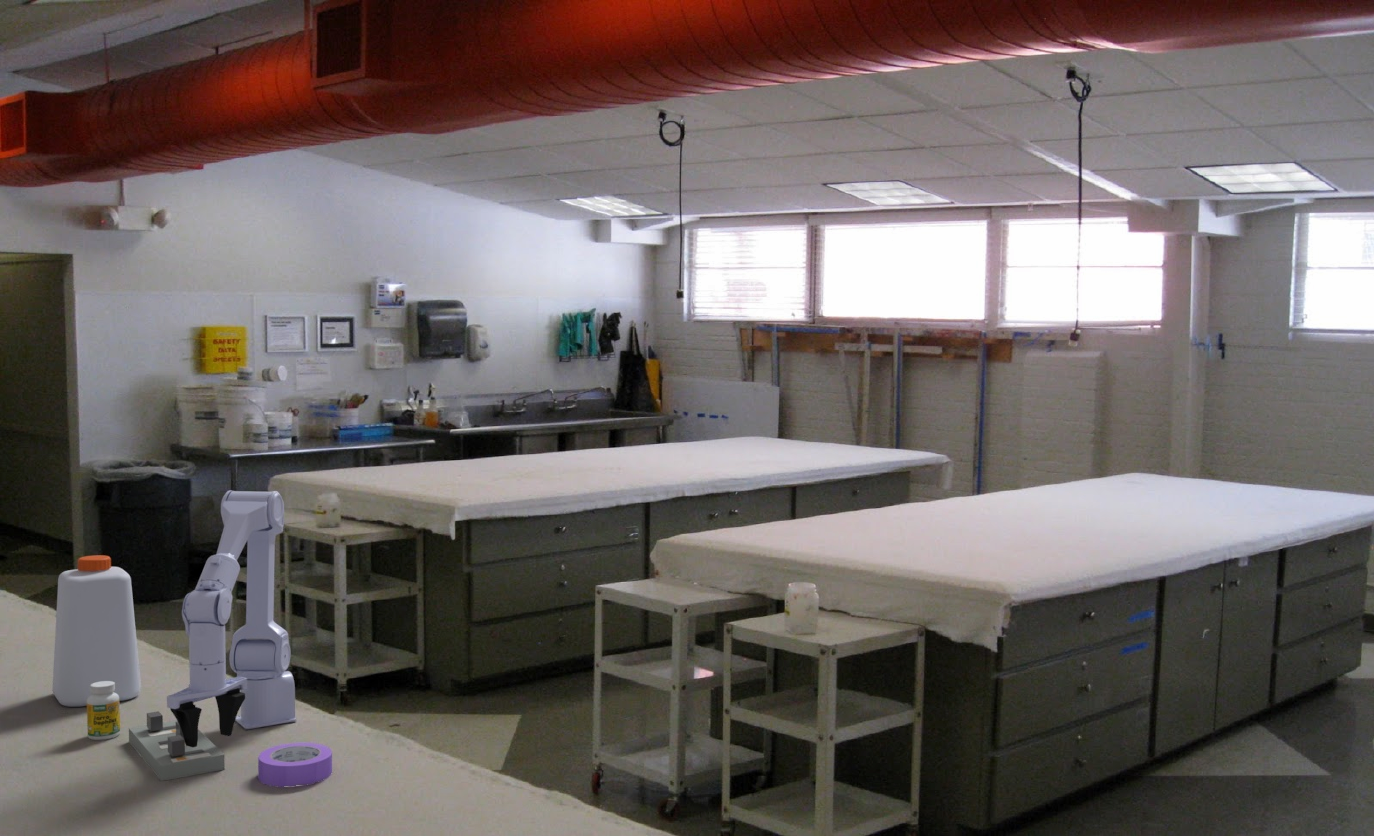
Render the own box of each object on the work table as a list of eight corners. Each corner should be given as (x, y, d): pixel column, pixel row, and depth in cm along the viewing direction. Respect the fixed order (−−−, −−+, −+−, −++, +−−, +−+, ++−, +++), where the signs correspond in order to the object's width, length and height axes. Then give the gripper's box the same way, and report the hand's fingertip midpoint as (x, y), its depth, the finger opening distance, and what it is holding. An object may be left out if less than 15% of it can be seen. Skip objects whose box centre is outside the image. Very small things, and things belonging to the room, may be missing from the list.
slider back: (158, 724, 226) (158, 711, 226) (162, 729, 224) (162, 715, 224) (146, 726, 225) (146, 713, 225) (150, 731, 223) (150, 717, 222)
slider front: (180, 749, 213) (180, 734, 213) (184, 754, 211) (184, 739, 210) (167, 751, 212) (167, 736, 212) (172, 756, 209) (172, 741, 209)
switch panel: (187, 731, 232) (187, 717, 231) (224, 769, 212) (224, 753, 212) (129, 741, 226) (128, 726, 226) (161, 780, 206) (161, 764, 206)
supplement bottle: (117, 729, 233) (116, 678, 232) (122, 737, 228) (121, 684, 228) (85, 734, 230) (84, 682, 229) (90, 742, 225) (88, 689, 225)
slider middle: (187, 733, 221) (187, 719, 221) (192, 738, 219) (192, 724, 219) (175, 735, 220) (175, 721, 220) (180, 740, 218) (179, 725, 218)
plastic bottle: (145, 699, 252) (142, 559, 250) (61, 711, 244) (58, 566, 242) (130, 681, 265) (127, 548, 263) (49, 692, 256) (46, 555, 254)
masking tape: (346, 768, 214) (346, 746, 213) (303, 792, 202) (303, 768, 202) (287, 760, 217) (287, 738, 217) (243, 783, 206) (242, 760, 206)
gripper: (227, 648, 222) (229, 725, 222) (154, 666, 209) (156, 747, 210) (255, 654, 218) (256, 732, 219) (181, 673, 205) (183, 755, 206)
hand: (208, 740), depth 214 cm, fingers open, 6 cm apart
